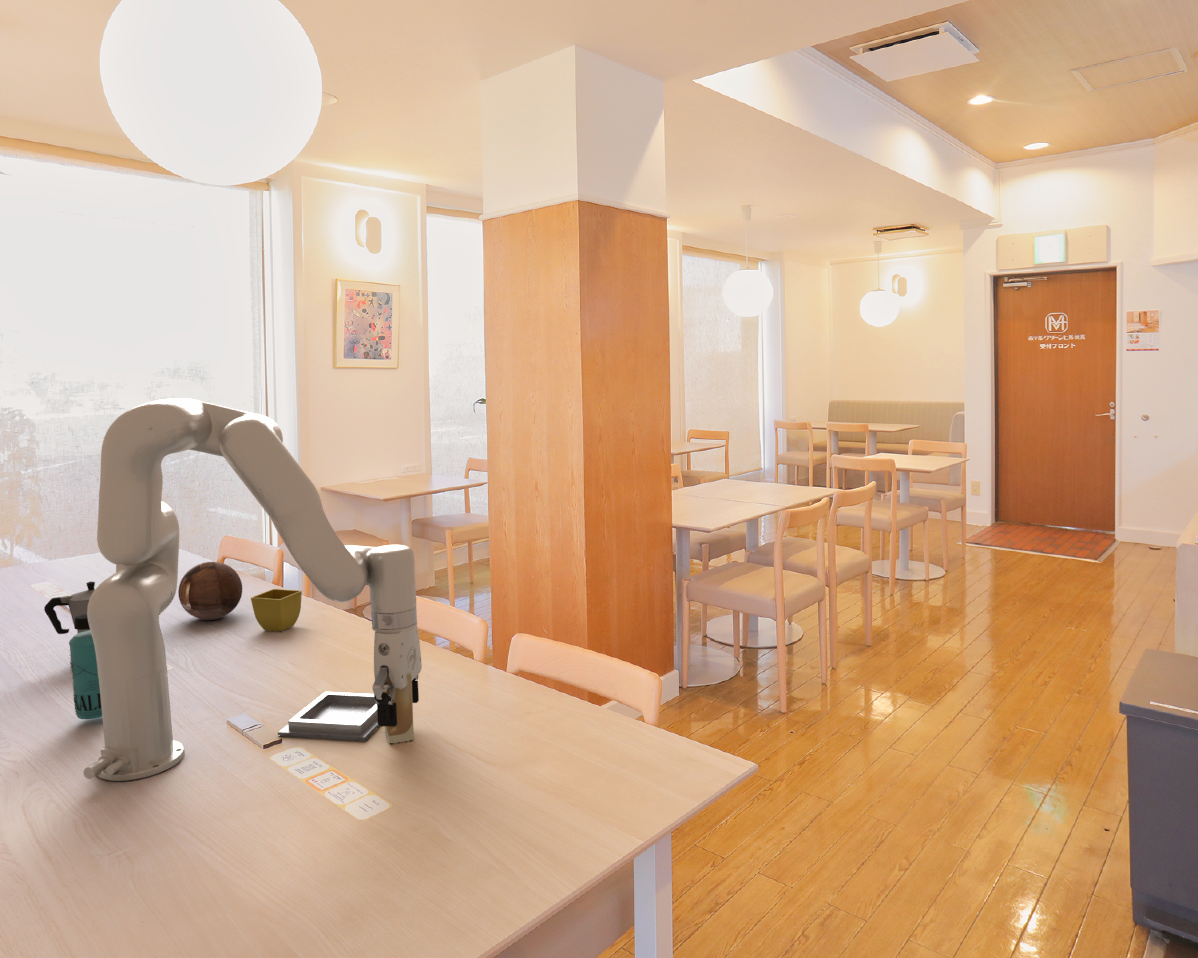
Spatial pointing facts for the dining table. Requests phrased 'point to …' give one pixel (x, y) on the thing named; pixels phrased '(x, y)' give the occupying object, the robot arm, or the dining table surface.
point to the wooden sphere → (210, 590)
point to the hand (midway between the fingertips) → (399, 713)
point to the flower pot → (277, 609)
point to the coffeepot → (70, 607)
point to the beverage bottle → (85, 672)
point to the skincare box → (402, 714)
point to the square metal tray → (335, 718)
